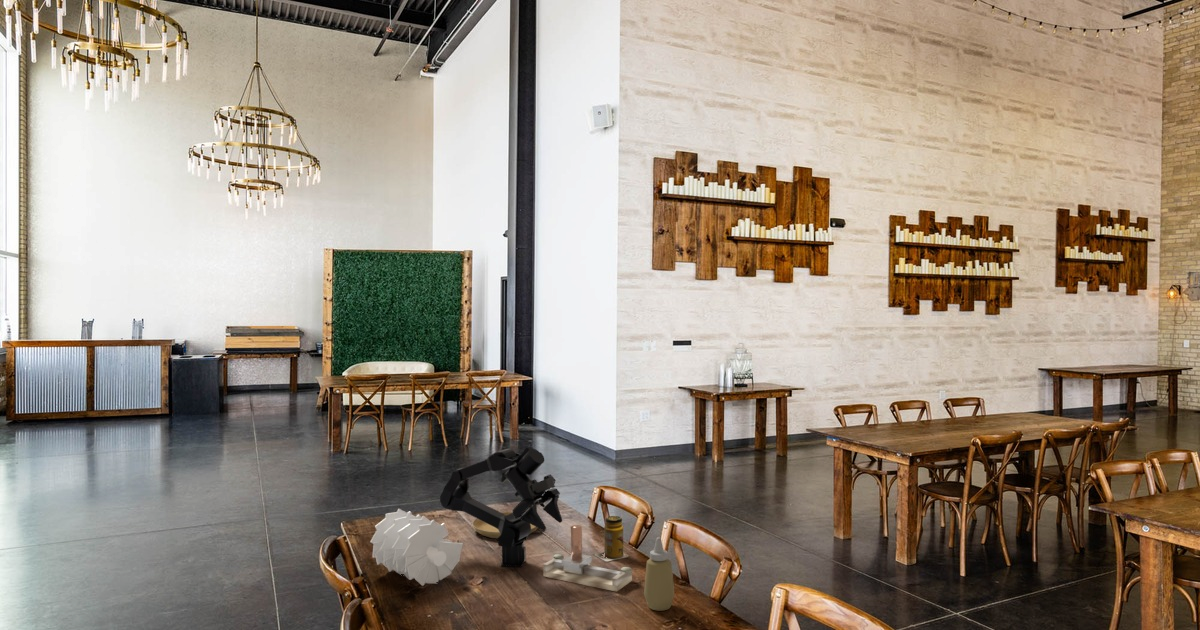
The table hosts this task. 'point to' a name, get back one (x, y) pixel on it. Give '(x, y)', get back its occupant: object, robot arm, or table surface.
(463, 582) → the table surface
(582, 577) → the rail
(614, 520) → the condiment
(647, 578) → the squeeze bottle
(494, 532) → the plant saucer
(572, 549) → the carriage
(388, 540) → the spiral staircase
